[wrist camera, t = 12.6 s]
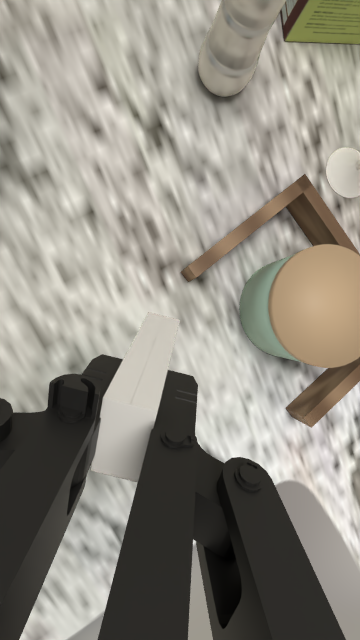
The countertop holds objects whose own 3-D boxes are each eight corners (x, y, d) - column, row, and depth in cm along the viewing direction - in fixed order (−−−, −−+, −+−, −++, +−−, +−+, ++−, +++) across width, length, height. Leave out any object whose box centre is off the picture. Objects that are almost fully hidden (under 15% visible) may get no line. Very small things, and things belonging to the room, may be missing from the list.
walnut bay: (292, 417, 39) (311, 427, 35) (180, 272, 37) (187, 266, 33) (384, 329, 42) (411, 330, 38) (286, 188, 39) (304, 173, 35)
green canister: (238, 358, 38) (273, 369, 30) (238, 259, 38) (272, 241, 30) (327, 356, 41) (383, 365, 32) (326, 262, 41) (382, 246, 32)
